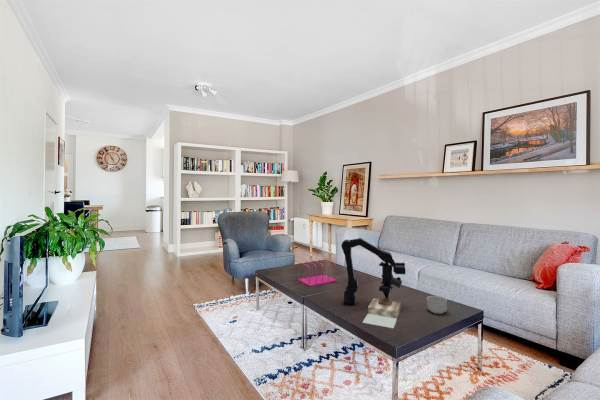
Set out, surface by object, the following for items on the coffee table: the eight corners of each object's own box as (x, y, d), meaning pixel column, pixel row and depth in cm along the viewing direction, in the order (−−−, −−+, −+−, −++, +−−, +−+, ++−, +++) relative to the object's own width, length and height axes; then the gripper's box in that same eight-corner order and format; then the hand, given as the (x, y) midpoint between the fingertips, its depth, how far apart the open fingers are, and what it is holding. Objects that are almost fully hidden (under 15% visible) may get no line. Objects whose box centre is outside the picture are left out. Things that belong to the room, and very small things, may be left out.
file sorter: (337, 282, 236) (337, 261, 235) (309, 287, 223) (309, 265, 223) (324, 276, 251) (324, 257, 250) (297, 281, 239) (297, 261, 238)
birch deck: (367, 313, 175) (367, 306, 175) (373, 304, 189) (373, 298, 189) (397, 318, 168) (397, 311, 168) (400, 308, 182) (400, 301, 182)
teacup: (440, 317, 170) (440, 303, 170) (422, 311, 179) (422, 297, 179) (453, 311, 178) (453, 297, 178) (435, 305, 187) (435, 292, 187)
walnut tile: (378, 304, 179) (378, 300, 179) (380, 300, 185) (380, 297, 184) (390, 305, 176) (390, 302, 176) (392, 302, 182) (392, 298, 182)
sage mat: (362, 322, 163) (362, 322, 163) (367, 313, 175) (367, 313, 175) (393, 328, 156) (393, 328, 156) (397, 318, 168) (397, 318, 168)
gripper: (399, 279, 173) (398, 306, 173) (403, 271, 190) (402, 296, 190) (379, 276, 178) (378, 303, 178) (384, 269, 195) (384, 293, 195)
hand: (387, 298), depth 185 cm, fingers closed
